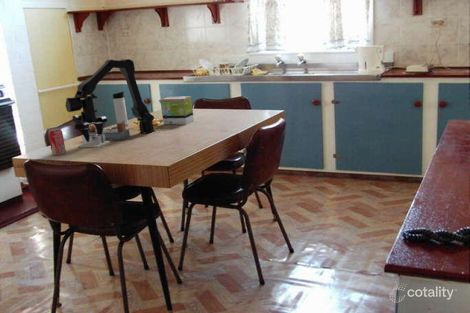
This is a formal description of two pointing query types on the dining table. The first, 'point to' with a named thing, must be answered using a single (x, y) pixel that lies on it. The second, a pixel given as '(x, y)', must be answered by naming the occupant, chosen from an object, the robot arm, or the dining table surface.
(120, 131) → the hand plane
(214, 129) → the dining table surface
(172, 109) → the tea box
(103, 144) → the rubber mat
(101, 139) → the lever cap
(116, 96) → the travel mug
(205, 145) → the dining table surface
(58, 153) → the beverage can
